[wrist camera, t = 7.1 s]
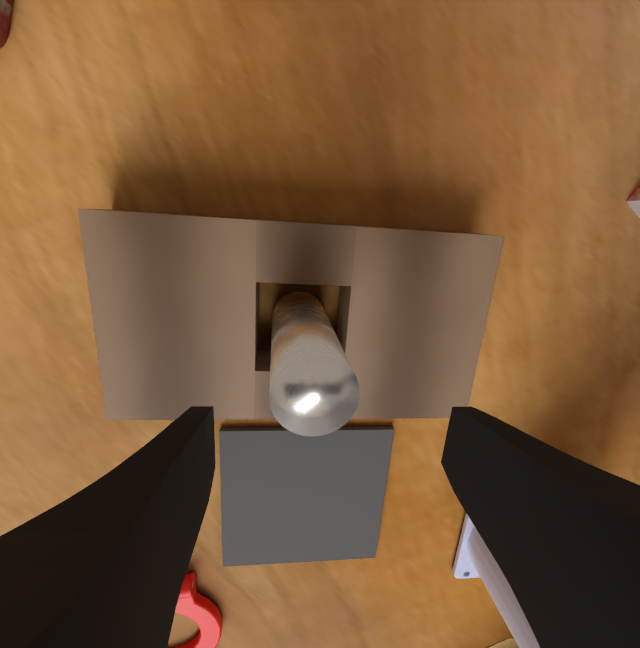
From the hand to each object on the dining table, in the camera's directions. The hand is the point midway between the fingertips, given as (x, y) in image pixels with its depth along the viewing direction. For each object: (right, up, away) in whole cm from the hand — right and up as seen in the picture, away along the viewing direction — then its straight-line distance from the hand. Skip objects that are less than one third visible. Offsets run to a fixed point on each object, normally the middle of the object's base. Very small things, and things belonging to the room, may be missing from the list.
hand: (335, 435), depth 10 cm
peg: (-2, +4, +9) cm, 10 cm away
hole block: (-2, +4, +9) cm, 10 cm away
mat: (-2, -8, +13) cm, 16 cm away
